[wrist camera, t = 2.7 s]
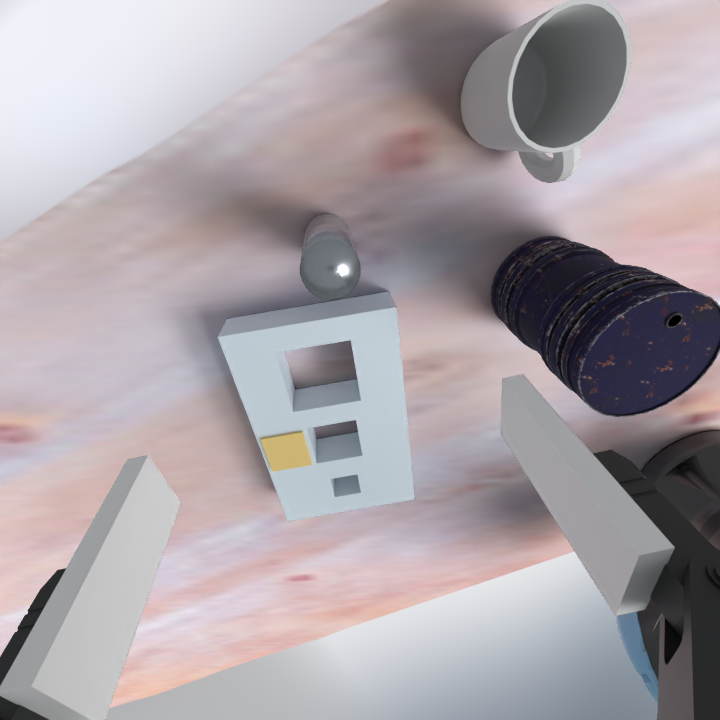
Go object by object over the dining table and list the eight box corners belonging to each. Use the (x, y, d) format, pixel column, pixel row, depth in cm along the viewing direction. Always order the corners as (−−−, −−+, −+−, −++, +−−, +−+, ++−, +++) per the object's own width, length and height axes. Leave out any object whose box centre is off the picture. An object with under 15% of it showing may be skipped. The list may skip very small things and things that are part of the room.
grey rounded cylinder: (346, 210, 32) (355, 235, 24) (352, 255, 34) (364, 294, 26) (300, 217, 32) (293, 245, 24) (310, 262, 34) (307, 303, 26)
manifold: (389, 291, 36) (397, 308, 33) (408, 474, 50) (415, 501, 46) (227, 318, 36) (216, 338, 33) (290, 495, 50) (287, 523, 46)
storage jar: (561, 333, 41) (672, 422, 28) (477, 325, 39) (553, 414, 26) (603, 241, 36) (761, 297, 23) (509, 227, 34) (622, 279, 22)
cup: (535, 14, 27) (622, -37, 19) (565, 153, 32) (644, 157, 24) (444, 73, 28) (491, 48, 20) (486, 198, 33) (537, 215, 25)
